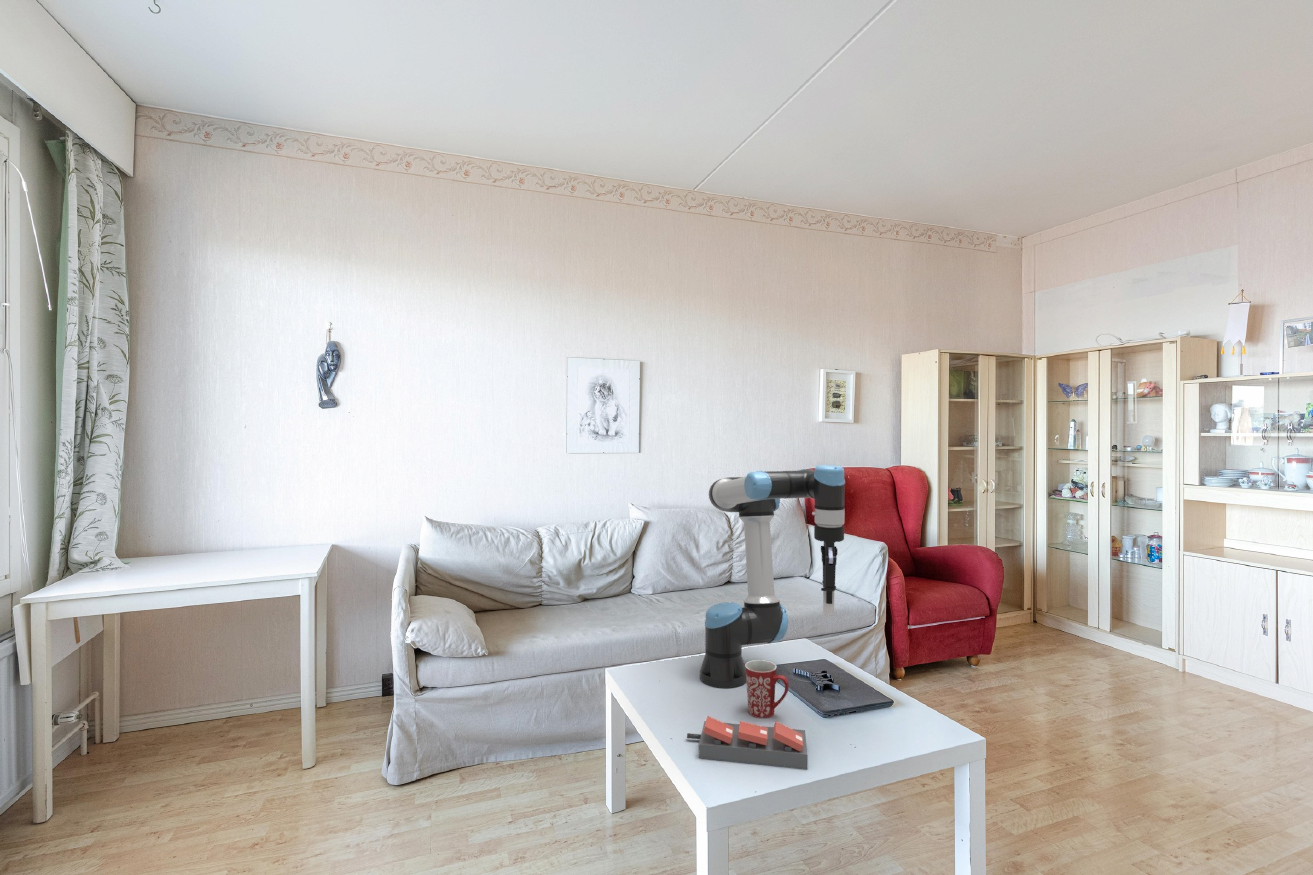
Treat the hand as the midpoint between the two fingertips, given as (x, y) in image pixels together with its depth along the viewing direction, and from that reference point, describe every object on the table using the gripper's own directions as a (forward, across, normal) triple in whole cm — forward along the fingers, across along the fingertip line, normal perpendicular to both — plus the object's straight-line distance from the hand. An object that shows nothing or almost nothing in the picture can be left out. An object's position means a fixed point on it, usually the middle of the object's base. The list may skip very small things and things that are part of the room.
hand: (828, 614), depth 163 cm
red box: (+27, +13, -19) cm, 35 cm away
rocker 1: (+27, +13, -28) cm, 40 cm away
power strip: (+32, +11, -21) cm, 40 cm away
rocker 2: (+27, +13, -10) cm, 31 cm away
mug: (+33, -10, -16) cm, 38 cm away
